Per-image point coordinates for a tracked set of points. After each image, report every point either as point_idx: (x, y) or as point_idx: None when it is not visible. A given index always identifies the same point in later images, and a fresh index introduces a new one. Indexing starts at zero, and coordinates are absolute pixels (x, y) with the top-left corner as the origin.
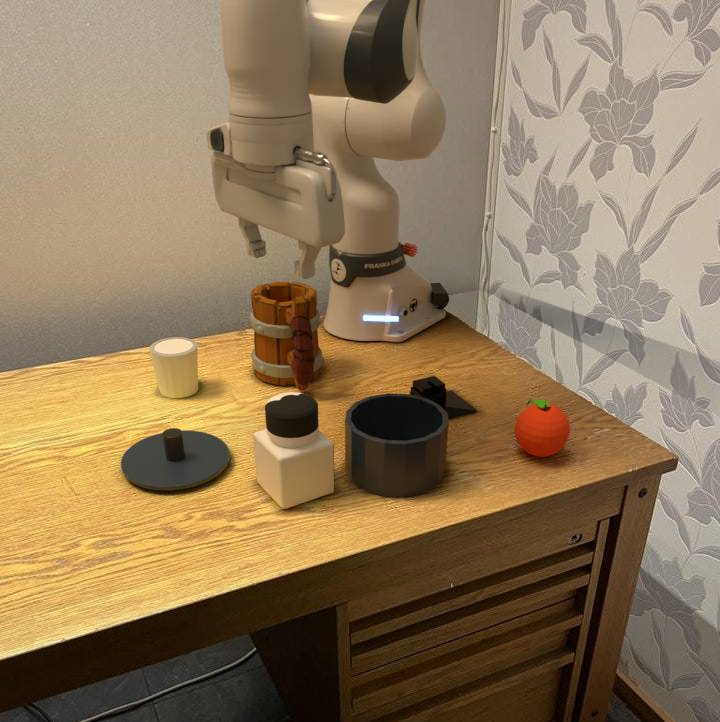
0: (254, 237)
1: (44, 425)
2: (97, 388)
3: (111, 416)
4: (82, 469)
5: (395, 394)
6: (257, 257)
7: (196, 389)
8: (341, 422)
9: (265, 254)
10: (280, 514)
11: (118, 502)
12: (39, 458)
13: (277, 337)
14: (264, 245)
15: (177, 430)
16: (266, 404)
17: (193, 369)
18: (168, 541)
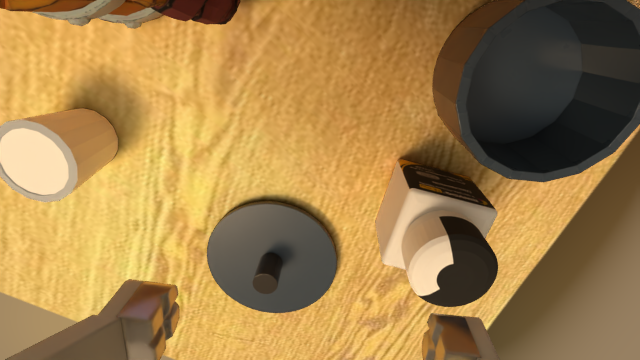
0: (109, 350)
1: (91, 297)
2: (23, 211)
3: (114, 240)
4: (211, 317)
5: (504, 21)
6: (177, 311)
7: (108, 124)
8: (349, 27)
9: (175, 287)
10: None
11: (293, 326)
12: None
13: (122, 3)
14: (158, 313)
15: (264, 277)
16: (422, 297)
17: (92, 141)
18: (384, 331)
